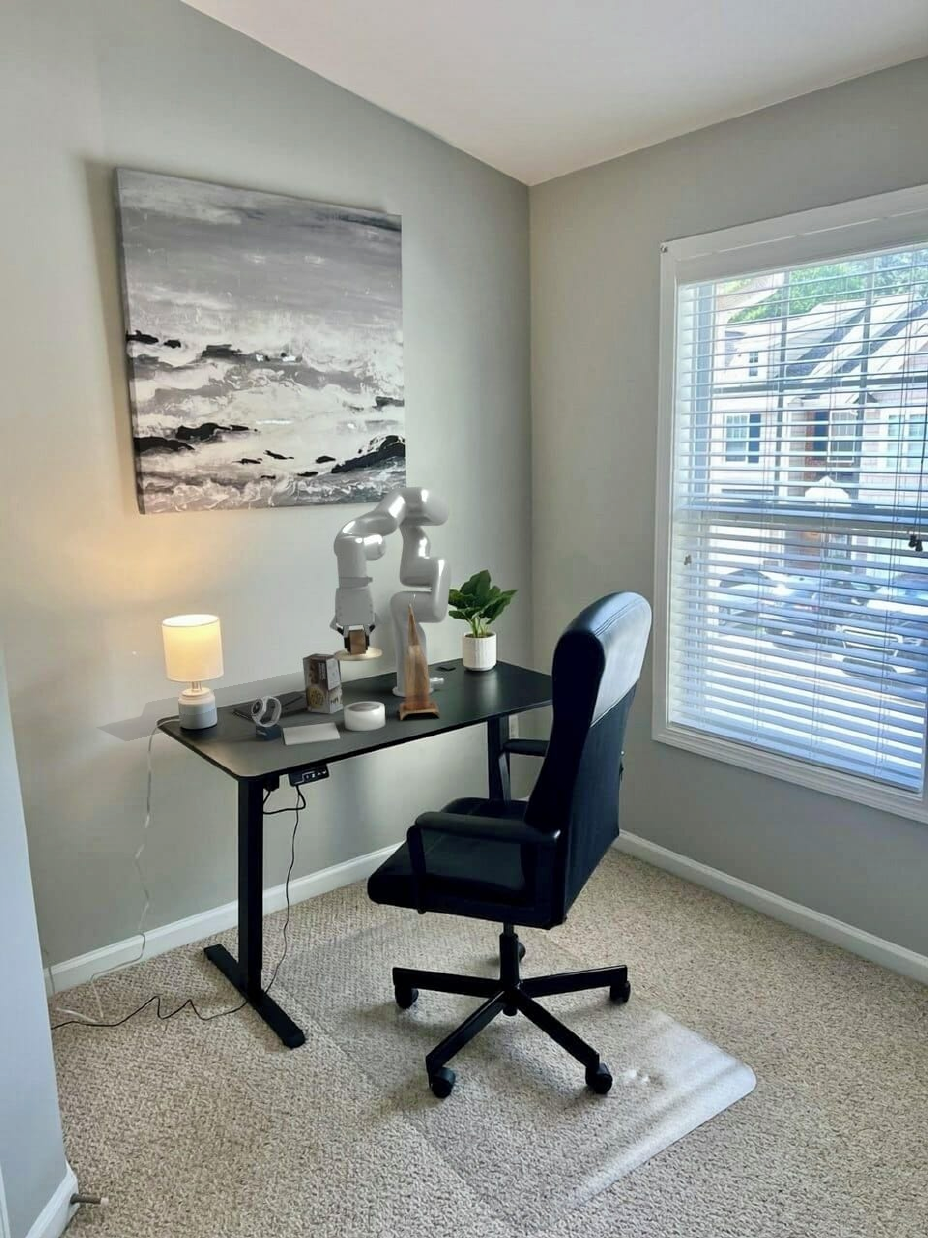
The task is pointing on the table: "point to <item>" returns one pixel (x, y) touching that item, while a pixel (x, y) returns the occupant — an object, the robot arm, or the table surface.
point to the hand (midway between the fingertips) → (357, 649)
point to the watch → (270, 728)
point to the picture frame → (289, 706)
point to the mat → (310, 733)
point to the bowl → (364, 716)
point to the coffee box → (323, 683)
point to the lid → (357, 648)
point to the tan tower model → (416, 675)
